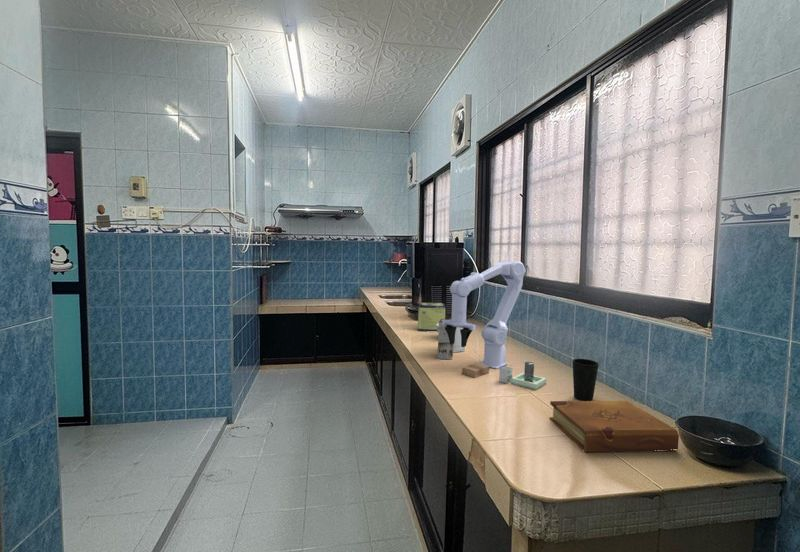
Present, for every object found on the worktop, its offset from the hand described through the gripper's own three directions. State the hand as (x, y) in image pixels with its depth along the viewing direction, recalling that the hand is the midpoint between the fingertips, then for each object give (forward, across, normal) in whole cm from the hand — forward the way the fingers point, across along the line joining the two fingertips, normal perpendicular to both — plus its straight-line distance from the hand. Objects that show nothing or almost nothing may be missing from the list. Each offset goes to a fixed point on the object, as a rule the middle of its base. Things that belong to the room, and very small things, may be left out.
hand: (457, 345), depth 154 cm
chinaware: (+10, -32, +40) cm, 52 cm away
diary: (+10, +60, -18) cm, 63 cm away
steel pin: (+9, +28, +4) cm, 30 cm away
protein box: (+10, -54, +52) cm, 75 cm away
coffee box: (+10, -14, +11) cm, 20 cm away
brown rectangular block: (+10, +8, 0) cm, 13 cm away
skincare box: (+10, -16, +22) cm, 29 cm away
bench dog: (+9, +21, 0) cm, 23 cm away
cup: (+10, +46, +4) cm, 48 cm away
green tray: (+9, +28, +4) cm, 30 cm away
